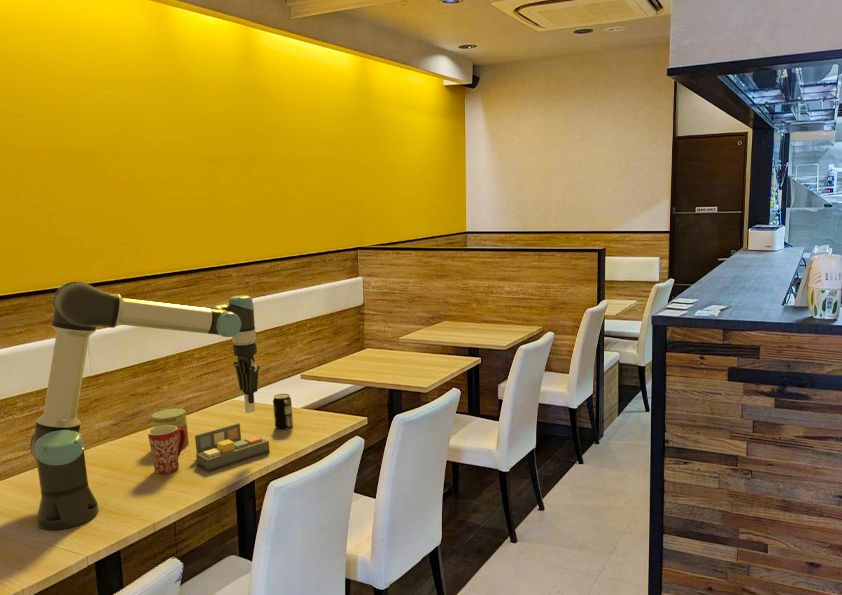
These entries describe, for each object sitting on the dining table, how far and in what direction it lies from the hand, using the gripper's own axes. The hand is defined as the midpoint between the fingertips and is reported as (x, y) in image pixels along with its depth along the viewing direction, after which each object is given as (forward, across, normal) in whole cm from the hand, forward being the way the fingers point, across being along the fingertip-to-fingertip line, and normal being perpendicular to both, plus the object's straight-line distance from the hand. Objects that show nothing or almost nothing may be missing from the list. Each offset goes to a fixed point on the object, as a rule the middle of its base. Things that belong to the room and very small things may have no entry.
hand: (250, 411), depth 238 cm
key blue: (+13, 0, +5) cm, 14 cm away
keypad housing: (+14, 0, +7) cm, 16 cm away
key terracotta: (+13, 0, 0) cm, 13 cm away
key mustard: (+11, 0, +10) cm, 15 cm away
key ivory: (+13, 0, +15) cm, 20 cm away
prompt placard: (+14, +10, +7) cm, 19 cm away
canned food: (+15, +29, +16) cm, 36 cm away
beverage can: (+15, +15, -21) cm, 30 cm away
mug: (+15, +9, +25) cm, 30 cm away
